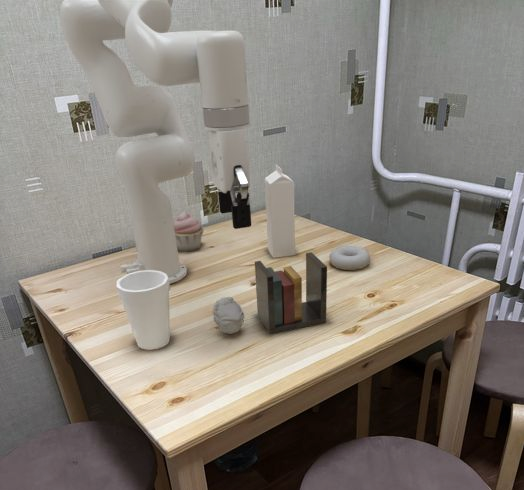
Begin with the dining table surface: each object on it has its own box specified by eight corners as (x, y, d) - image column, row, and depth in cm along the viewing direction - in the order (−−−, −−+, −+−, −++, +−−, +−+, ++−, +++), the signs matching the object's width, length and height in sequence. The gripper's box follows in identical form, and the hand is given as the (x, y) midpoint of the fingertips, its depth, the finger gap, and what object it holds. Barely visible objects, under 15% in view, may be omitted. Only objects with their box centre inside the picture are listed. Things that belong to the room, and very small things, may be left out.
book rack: (269, 334, 103) (267, 277, 97) (257, 316, 110) (254, 261, 103) (326, 322, 106) (327, 266, 99) (311, 305, 112) (311, 252, 106)
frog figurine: (234, 320, 109) (231, 289, 105) (252, 333, 104) (250, 302, 100) (208, 329, 106) (204, 298, 102) (225, 343, 101) (222, 311, 97)
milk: (289, 247, 141) (288, 162, 130) (295, 255, 136) (294, 168, 125) (267, 250, 140) (264, 164, 129) (272, 258, 135) (269, 170, 124)
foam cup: (138, 328, 107) (126, 270, 100) (182, 329, 106) (173, 269, 99) (122, 354, 99) (108, 292, 92) (170, 354, 98) (159, 292, 91)
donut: (327, 272, 127) (369, 272, 125) (327, 258, 125) (370, 259, 123) (331, 256, 135) (370, 256, 133) (331, 243, 133) (371, 243, 131)
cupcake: (201, 254, 140) (196, 217, 135) (167, 253, 142) (162, 217, 136) (209, 241, 148) (206, 206, 143) (178, 240, 149) (173, 206, 144)
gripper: (194, 114, 93) (205, 209, 102) (216, 127, 79) (226, 237, 88) (234, 110, 95) (242, 204, 104) (263, 122, 80) (269, 230, 89)
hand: (235, 219), depth 96 cm, fingers open, 9 cm apart
